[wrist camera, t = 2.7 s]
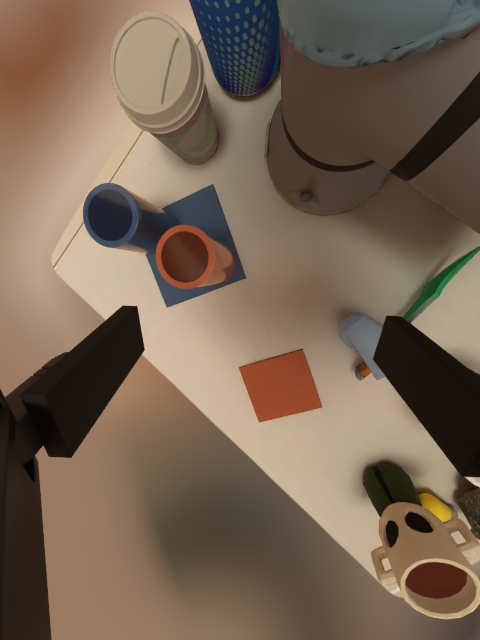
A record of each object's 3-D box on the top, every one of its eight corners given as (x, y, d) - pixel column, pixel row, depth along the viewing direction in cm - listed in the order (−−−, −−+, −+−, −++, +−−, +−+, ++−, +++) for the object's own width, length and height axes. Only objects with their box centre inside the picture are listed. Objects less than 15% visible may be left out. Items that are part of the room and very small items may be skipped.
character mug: (406, 443, 35) (477, 540, 22) (435, 483, 35) (522, 600, 22) (337, 476, 37) (366, 580, 25) (365, 513, 37) (407, 634, 25)
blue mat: (213, 185, 33) (212, 184, 33) (246, 278, 35) (245, 278, 34) (134, 222, 36) (132, 221, 35) (167, 307, 37) (166, 307, 37)
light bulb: (427, 493, 33) (431, 526, 32) (465, 501, 34) (471, 534, 32) (406, 488, 36) (409, 518, 35) (442, 495, 37) (446, 525, 35)
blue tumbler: (173, 204, 34) (122, 171, 23) (188, 246, 35) (147, 233, 24) (136, 221, 35) (72, 198, 25) (152, 262, 36) (97, 256, 25)
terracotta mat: (302, 348, 35) (302, 349, 35) (321, 406, 36) (322, 407, 36) (239, 367, 37) (239, 368, 37) (259, 420, 38) (259, 422, 38)
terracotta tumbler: (227, 233, 34) (201, 214, 23) (242, 276, 34) (223, 276, 23) (187, 250, 35) (145, 238, 24) (203, 290, 35) (168, 297, 25)
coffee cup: (193, 189, 34) (146, 143, 22) (153, 138, 33) (84, 64, 22) (241, 142, 32) (218, 63, 20) (200, 86, 31) (152, -26, 20)
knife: (360, 376, 34) (372, 393, 29) (347, 368, 34) (358, 384, 30) (464, 247, 30) (500, 242, 25) (449, 239, 30) (482, 231, 25)
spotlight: (391, 339, 33) (356, 301, 33) (438, 365, 23) (388, 311, 23) (360, 362, 34) (326, 325, 34) (392, 397, 24) (344, 345, 24)
